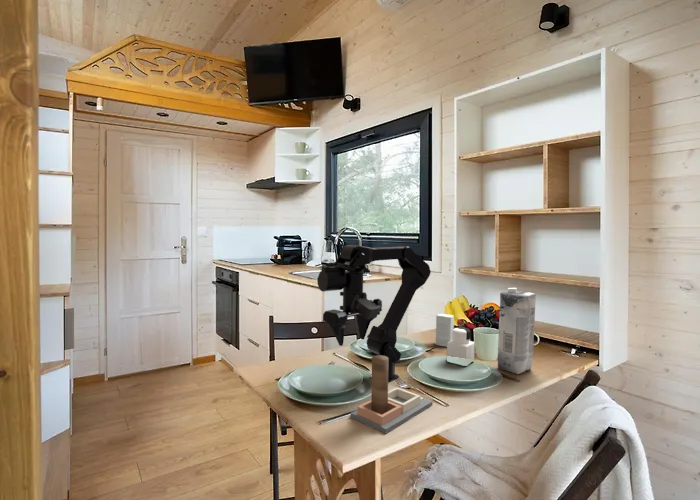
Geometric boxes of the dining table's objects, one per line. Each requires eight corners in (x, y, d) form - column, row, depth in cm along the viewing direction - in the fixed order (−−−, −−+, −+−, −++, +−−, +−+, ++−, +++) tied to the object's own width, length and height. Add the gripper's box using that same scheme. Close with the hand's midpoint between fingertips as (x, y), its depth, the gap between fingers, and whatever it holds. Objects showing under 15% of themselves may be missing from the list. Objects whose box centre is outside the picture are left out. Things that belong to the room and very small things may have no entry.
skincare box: (453, 345, 158) (454, 315, 157) (450, 347, 155) (451, 317, 154) (438, 342, 161) (439, 313, 161) (435, 344, 158) (436, 315, 157)
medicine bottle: (454, 357, 143) (456, 324, 142) (474, 362, 139) (475, 328, 138) (446, 362, 138) (447, 328, 137) (465, 367, 133) (467, 332, 132)
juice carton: (535, 369, 132) (539, 289, 131) (518, 376, 126) (522, 292, 124) (510, 362, 139) (513, 285, 138) (493, 368, 133) (497, 288, 131)
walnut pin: (373, 409, 99) (374, 354, 98) (389, 411, 98) (390, 356, 97) (369, 416, 96) (370, 359, 95) (385, 419, 94) (386, 361, 93)
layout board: (398, 392, 112) (398, 382, 112) (432, 405, 105) (432, 394, 104) (350, 417, 97) (350, 405, 97) (386, 433, 90) (386, 420, 90)
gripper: (351, 296, 102) (350, 356, 103) (395, 288, 116) (393, 341, 117) (322, 291, 109) (321, 346, 110) (365, 284, 123) (364, 334, 124)
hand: (352, 342), depth 115 cm, fingers open, 9 cm apart
